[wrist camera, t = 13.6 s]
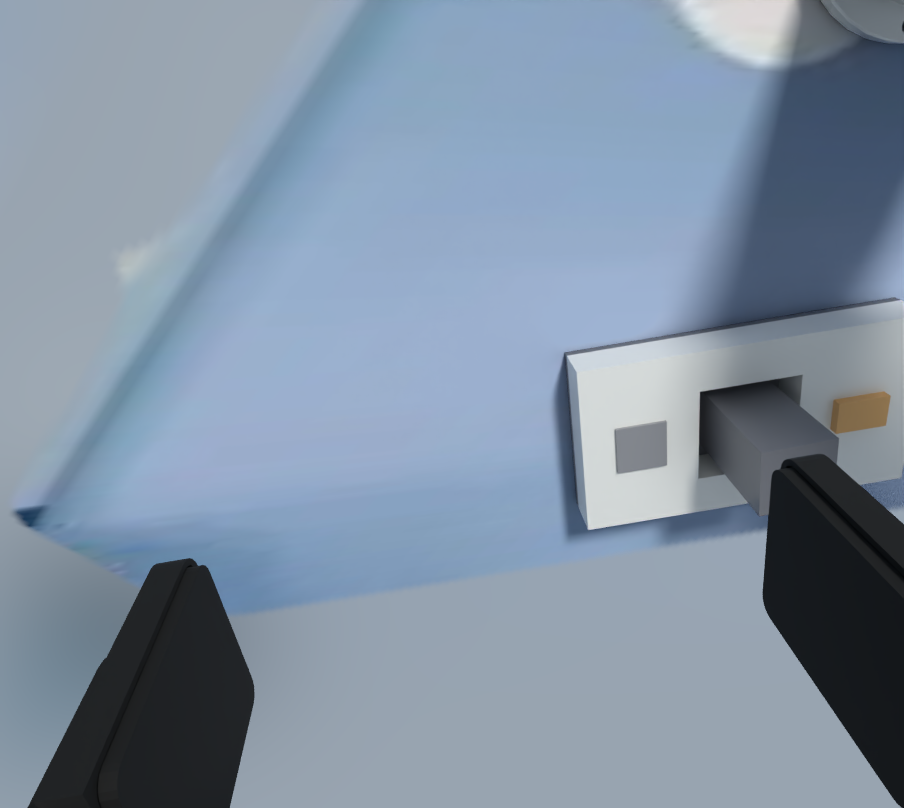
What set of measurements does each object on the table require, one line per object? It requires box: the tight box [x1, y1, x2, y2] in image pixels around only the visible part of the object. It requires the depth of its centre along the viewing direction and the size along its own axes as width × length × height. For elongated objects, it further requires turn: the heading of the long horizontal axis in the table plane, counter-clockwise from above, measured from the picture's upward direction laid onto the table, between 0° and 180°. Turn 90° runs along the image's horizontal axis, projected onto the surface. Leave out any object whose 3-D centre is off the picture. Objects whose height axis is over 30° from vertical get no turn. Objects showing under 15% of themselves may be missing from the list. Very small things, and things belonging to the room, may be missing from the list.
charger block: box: [699, 380, 839, 516], centre depth 39 cm, size 4×4×8 cm
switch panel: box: [565, 298, 904, 530], centre depth 41 cm, size 20×11×4 cm, turn 98°
